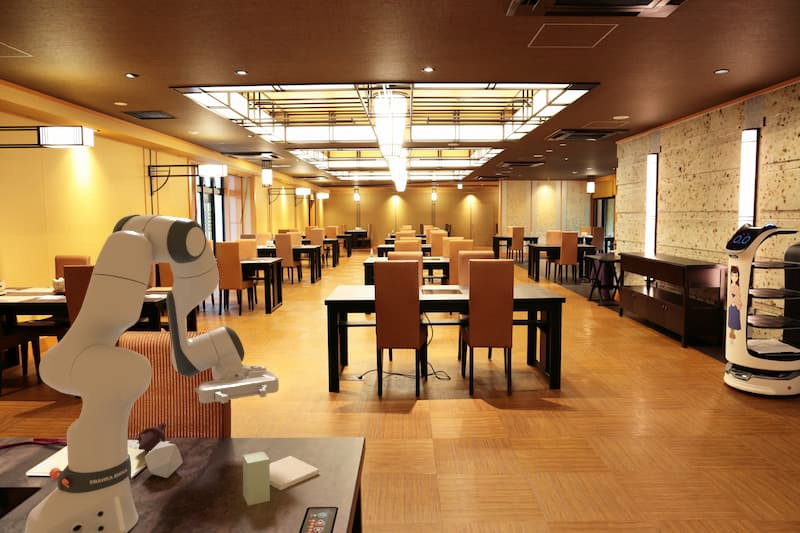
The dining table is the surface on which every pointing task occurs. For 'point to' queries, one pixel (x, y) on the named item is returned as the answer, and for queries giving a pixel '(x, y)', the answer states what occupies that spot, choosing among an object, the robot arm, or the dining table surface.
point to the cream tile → (290, 472)
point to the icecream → (151, 437)
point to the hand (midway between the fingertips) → (244, 397)
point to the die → (163, 459)
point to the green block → (256, 478)
